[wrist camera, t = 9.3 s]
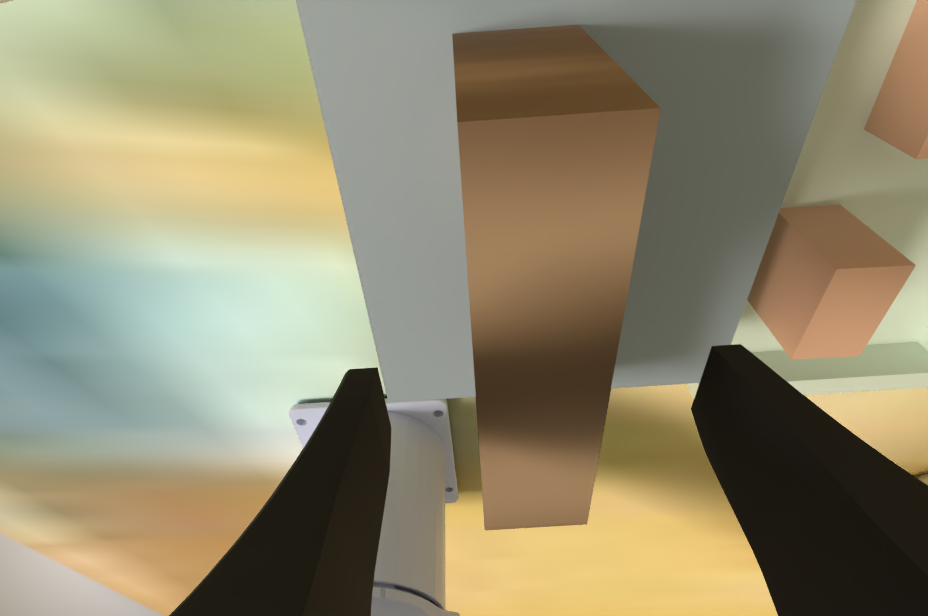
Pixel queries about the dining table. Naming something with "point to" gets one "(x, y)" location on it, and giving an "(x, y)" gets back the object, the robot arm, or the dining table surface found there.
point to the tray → (860, 212)
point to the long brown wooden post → (546, 256)
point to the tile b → (906, 91)
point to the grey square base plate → (669, 182)
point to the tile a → (825, 282)
